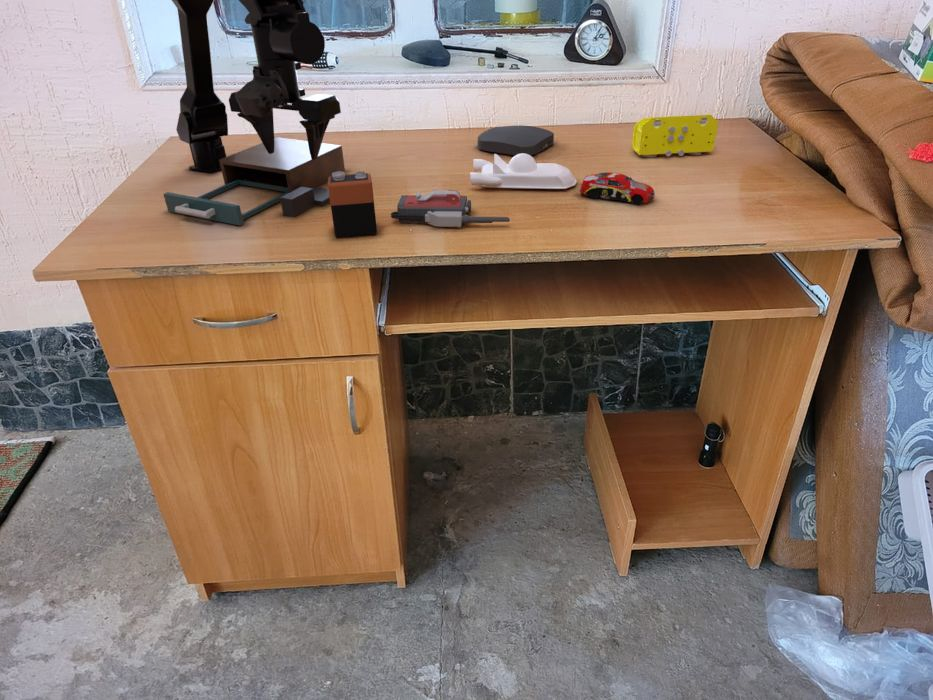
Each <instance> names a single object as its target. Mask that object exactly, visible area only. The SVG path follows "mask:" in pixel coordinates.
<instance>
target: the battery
mask: <svg viewBox="0 0 933 700" xmlns="http://www.w3.org/2000/svg"><path fill="white" fill-rule="evenodd" d="M345 173H346V171H345V172H339V171H338V172H334V173H332V176H329V178H328V181H327V189H328V190H329V197H330V203H329V204H330V211H331V217H332V225H333V231H334V237H335V238H336V239H346V238H347V239H348V238H356V237H357V238H358V237H369V236H376V235H377V234H378V228H377V227H378V226H377V216H376V209H375V208H376V207H375V199H374V189H373V181H372V180H373V179H372V175H371V174H370V173H368V172H366V171H363V170H361V171H360V170H359V171H356V172H355V173H353V174H352V173H351V174H345Z"/></svg>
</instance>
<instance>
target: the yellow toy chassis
mask: <svg viewBox="0 0 933 700" xmlns="http://www.w3.org/2000/svg"><path fill="white" fill-rule="evenodd" d="M718 126H719V121H718V120H717V119H716V118H715V117H714V116H713V115H712V114H694V115H693V114H692V115H691V114H690V115H674V116H673V115H671V116H653V117H643V118H642V119H640V120H639V121H638V122H636V123H635V124H634V125H633V133H632V134H633V135H632V140H631V141H632V142H631V149H632V150H634V152H635V153H636V154H637V155H638V156H642V157H644V158H656V157H658V155H665V157H669V158H670V157H671V155H672V154H677V155H678V156H680V157H682V156H684V154H687V155H690V156H700V155H702V153H708V152H714V148H715V142H716V138H717V137H716V136H717V131H718Z"/></svg>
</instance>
